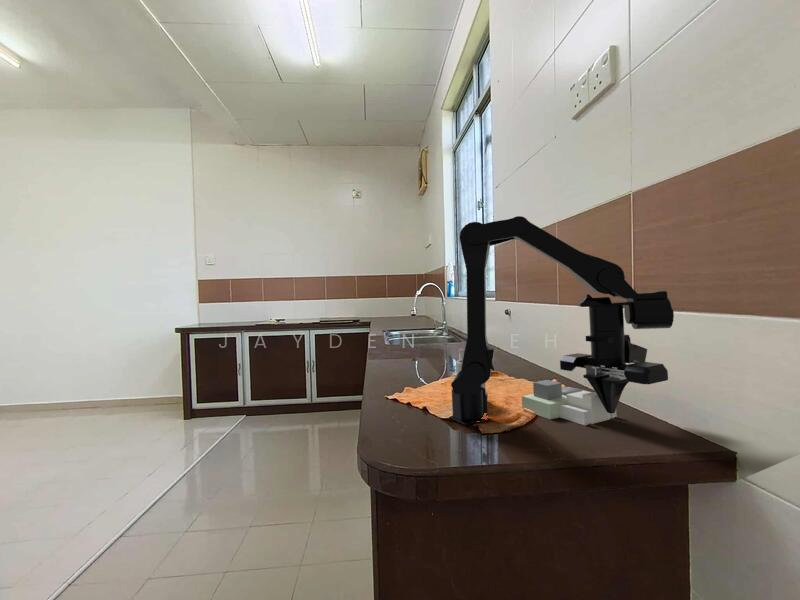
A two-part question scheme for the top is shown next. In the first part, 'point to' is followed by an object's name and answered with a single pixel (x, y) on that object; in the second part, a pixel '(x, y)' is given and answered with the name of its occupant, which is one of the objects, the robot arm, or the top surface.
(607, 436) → the top surface
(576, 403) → the white lidded box
